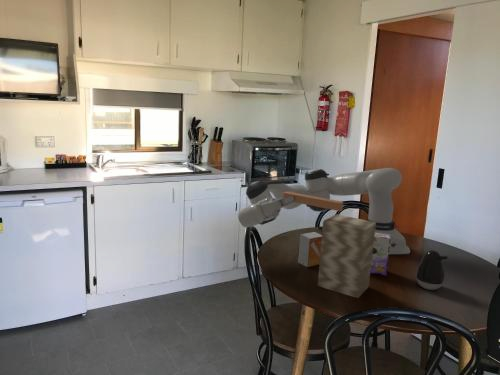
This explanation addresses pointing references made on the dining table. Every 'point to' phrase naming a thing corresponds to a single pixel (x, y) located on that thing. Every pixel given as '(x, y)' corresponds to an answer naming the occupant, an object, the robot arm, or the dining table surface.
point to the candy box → (380, 253)
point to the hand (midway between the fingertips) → (296, 196)
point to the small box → (310, 249)
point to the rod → (315, 201)
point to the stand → (346, 254)
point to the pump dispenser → (431, 270)
